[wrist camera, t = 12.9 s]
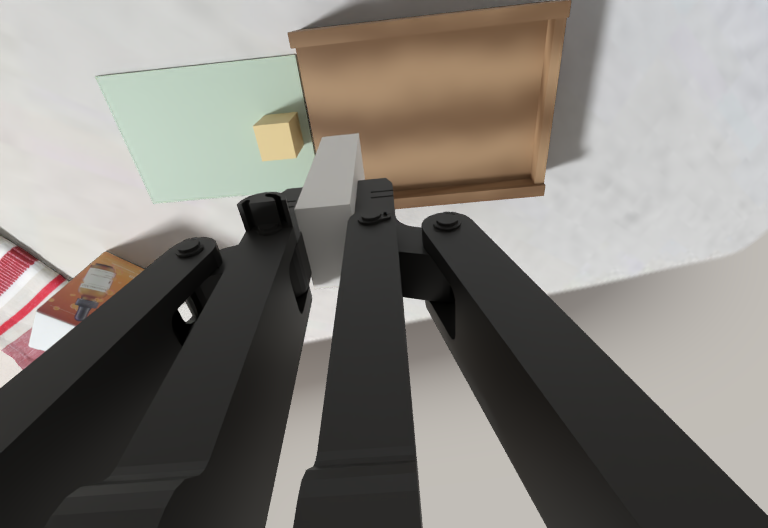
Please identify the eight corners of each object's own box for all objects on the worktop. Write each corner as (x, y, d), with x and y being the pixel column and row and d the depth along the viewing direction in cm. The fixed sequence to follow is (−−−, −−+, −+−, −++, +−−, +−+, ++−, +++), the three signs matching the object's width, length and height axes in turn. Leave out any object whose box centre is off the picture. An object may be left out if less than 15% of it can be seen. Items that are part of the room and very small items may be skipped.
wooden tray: (299, 29, 32) (287, 32, 28) (546, 1, 31) (571, 0, 27) (330, 194, 40) (324, 215, 36) (527, 176, 39) (543, 195, 35)
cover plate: (100, 75, 34) (63, 84, 30) (296, 53, 33) (285, 60, 29) (157, 200, 41) (132, 221, 37) (322, 185, 40) (315, 204, 36)
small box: (175, 280, 46) (126, 345, 37) (162, 311, 48) (113, 378, 40) (104, 249, 43) (33, 310, 35) (94, 282, 46) (25, 347, 37)
